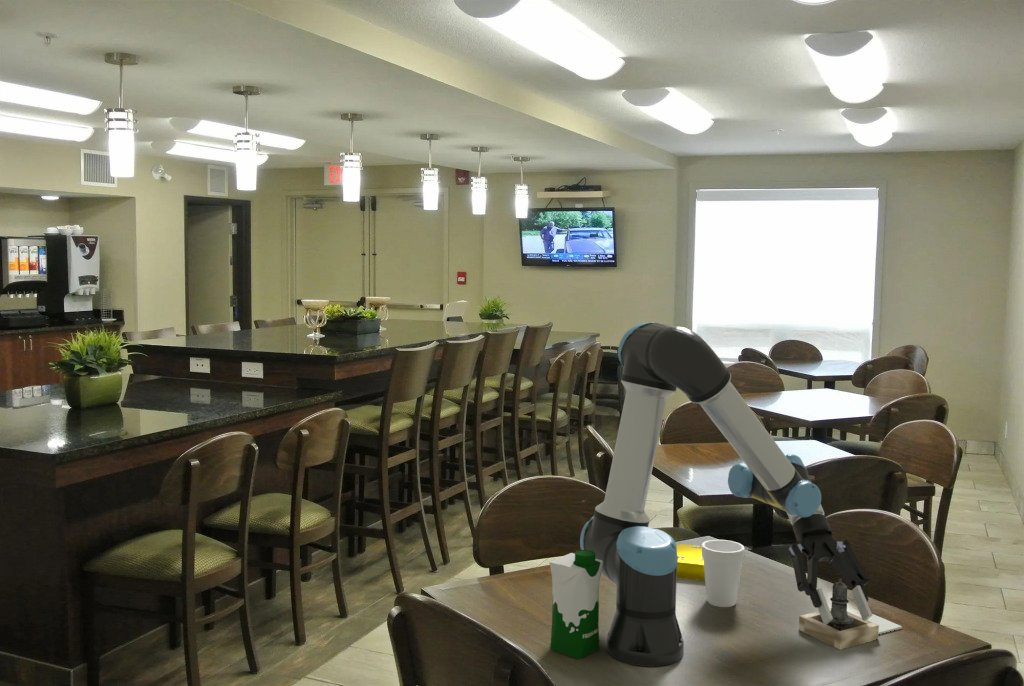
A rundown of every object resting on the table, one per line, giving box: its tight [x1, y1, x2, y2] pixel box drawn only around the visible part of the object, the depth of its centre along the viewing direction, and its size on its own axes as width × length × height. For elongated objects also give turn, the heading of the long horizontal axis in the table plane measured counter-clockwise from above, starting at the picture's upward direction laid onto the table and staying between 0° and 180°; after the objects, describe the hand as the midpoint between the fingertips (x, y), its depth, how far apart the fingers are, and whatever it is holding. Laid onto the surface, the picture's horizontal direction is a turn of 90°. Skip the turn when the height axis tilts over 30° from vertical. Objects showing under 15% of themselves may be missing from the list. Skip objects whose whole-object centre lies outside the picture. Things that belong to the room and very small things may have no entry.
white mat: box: [858, 613, 903, 636], centre depth 193 cm, size 8×8×1 cm
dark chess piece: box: [826, 578, 854, 631], centre depth 187 cm, size 6×6×12 cm
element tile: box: [676, 543, 705, 581], centre depth 226 cm, size 15×15×5 cm
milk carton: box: [548, 549, 603, 660], centre depth 179 cm, size 9×9×20 cm
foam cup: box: [701, 539, 745, 608], centre depth 205 cm, size 10×9×13 cm
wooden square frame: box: [798, 608, 879, 651], centre depth 188 cm, size 11×11×3 cm
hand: (848, 619), depth 184 cm, fingers open, 8 cm apart
